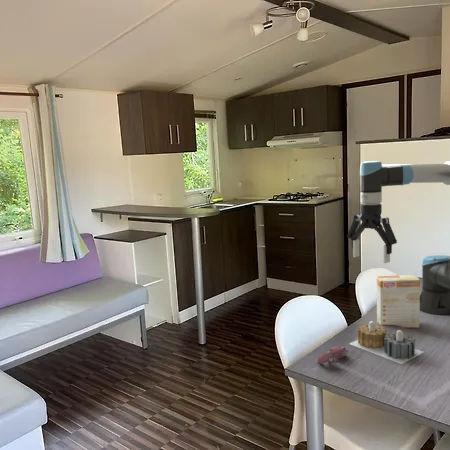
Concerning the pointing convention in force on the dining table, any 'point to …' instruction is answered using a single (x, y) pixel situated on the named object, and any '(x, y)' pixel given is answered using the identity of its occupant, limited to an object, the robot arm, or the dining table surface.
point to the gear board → (381, 350)
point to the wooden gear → (371, 336)
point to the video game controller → (332, 355)
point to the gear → (399, 346)
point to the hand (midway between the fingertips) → (370, 259)
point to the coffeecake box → (398, 300)
